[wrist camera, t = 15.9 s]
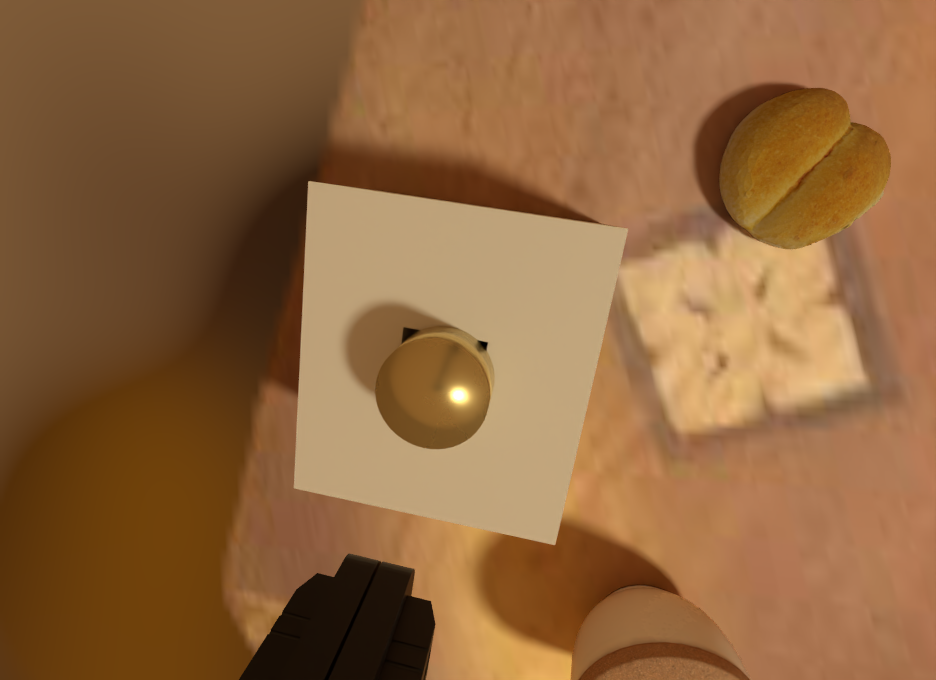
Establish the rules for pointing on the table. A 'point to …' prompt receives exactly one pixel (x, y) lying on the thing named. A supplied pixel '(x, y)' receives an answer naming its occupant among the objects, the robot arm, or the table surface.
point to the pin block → (469, 309)
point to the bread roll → (802, 169)
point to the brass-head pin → (436, 387)
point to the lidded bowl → (652, 640)
